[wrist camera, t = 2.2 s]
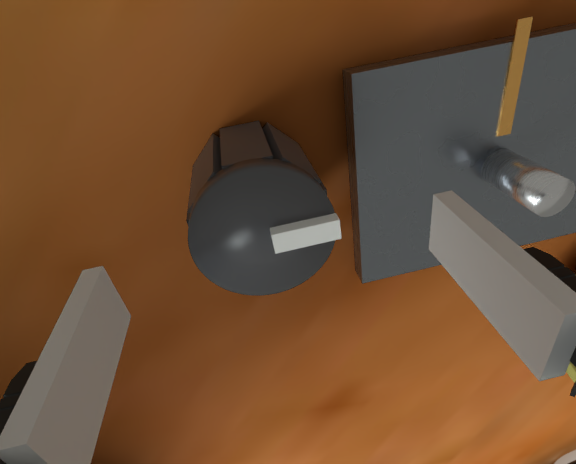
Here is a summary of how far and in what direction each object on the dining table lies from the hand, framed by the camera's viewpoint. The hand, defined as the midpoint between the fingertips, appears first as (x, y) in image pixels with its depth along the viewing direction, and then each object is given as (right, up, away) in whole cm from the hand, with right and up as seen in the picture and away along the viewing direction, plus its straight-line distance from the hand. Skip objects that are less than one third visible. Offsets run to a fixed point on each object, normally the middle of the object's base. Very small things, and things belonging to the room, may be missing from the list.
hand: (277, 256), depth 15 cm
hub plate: (+13, +6, +9) cm, 17 cm away
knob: (-2, +4, +7) cm, 8 cm away
